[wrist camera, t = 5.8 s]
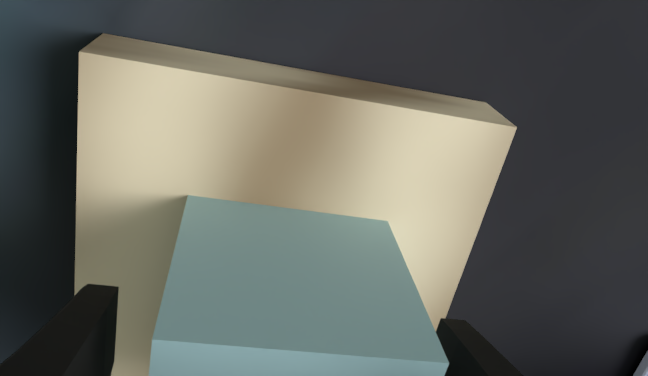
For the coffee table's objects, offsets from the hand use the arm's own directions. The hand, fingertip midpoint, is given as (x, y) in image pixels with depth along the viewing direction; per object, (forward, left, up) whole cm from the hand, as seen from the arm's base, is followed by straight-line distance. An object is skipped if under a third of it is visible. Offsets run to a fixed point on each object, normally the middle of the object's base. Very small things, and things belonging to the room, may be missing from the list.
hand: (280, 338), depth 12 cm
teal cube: (0, 0, -2) cm, 2 cm away
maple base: (0, 0, -4) cm, 4 cm away
